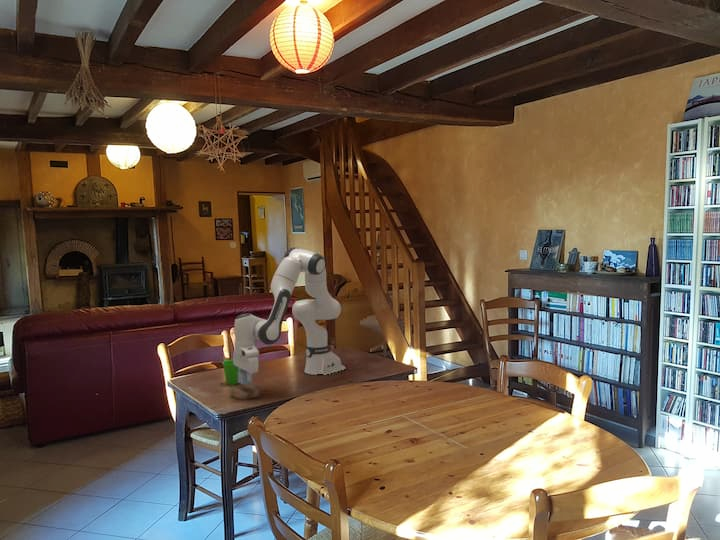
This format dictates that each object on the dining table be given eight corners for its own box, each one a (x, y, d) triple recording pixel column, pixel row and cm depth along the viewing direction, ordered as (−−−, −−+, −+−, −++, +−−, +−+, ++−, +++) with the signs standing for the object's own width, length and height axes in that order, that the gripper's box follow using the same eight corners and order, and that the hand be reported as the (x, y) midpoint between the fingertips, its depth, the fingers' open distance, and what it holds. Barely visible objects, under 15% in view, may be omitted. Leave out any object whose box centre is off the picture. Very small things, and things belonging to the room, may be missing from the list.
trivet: (252, 389, 244) (252, 382, 244) (264, 395, 234) (264, 389, 233) (226, 394, 236) (226, 388, 236) (238, 401, 226) (237, 395, 226)
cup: (238, 386, 248) (238, 364, 248) (220, 386, 249) (219, 364, 248) (243, 380, 257) (242, 359, 257) (225, 380, 258) (224, 359, 257)
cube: (248, 380, 238) (247, 369, 237) (252, 382, 234) (252, 371, 233) (238, 382, 235) (237, 371, 234) (242, 384, 231) (242, 373, 230)
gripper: (229, 346, 239) (230, 374, 240) (247, 354, 223) (248, 385, 224) (241, 344, 243) (242, 372, 244) (260, 352, 227) (261, 382, 228)
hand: (245, 378), depth 234 cm, fingers closed on cube, 5 cm apart
